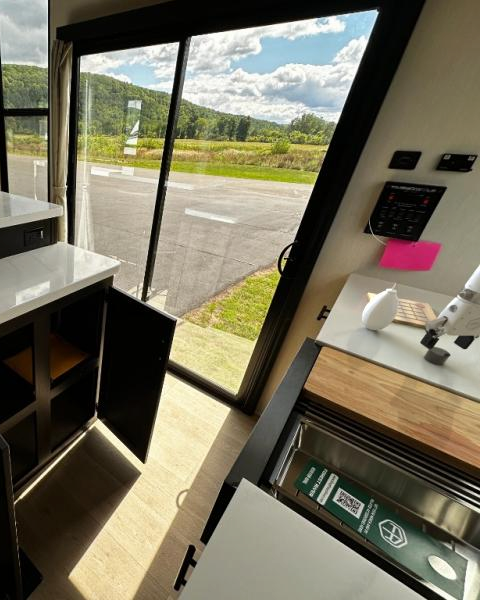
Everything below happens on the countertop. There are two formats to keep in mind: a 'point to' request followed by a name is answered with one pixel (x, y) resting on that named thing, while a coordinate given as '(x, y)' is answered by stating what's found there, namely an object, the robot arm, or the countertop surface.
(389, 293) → the white air blower bulb
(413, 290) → the countertop surface
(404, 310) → the board
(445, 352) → the stone
